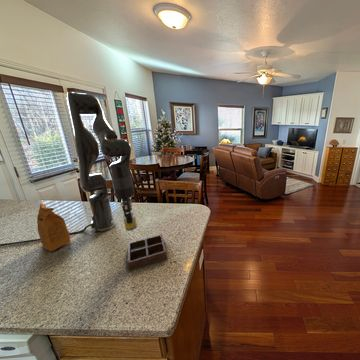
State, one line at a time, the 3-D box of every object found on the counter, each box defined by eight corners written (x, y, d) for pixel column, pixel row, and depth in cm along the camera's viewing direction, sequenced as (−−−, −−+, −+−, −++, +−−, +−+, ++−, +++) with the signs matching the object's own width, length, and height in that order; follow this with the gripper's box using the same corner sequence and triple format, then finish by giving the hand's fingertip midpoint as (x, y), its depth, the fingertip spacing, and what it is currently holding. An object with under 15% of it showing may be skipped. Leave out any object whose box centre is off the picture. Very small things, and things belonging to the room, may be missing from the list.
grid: (129, 270, 81) (127, 263, 80) (129, 249, 94) (128, 242, 93) (167, 258, 88) (166, 251, 87) (162, 240, 101) (161, 234, 100)
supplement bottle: (128, 225, 90) (125, 210, 88) (138, 225, 91) (136, 209, 88) (123, 231, 86) (120, 214, 83) (134, 230, 86) (131, 214, 84)
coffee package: (64, 235, 105) (53, 199, 98) (74, 243, 98) (62, 205, 92) (40, 245, 96) (25, 206, 90) (48, 253, 90) (33, 213, 84)
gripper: (114, 182, 86) (121, 215, 91) (111, 192, 74) (119, 229, 79) (133, 180, 90) (138, 212, 95) (133, 189, 78) (139, 225, 83)
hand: (130, 220), depth 87 cm, fingers closed on supplement bottle, 4 cm apart
